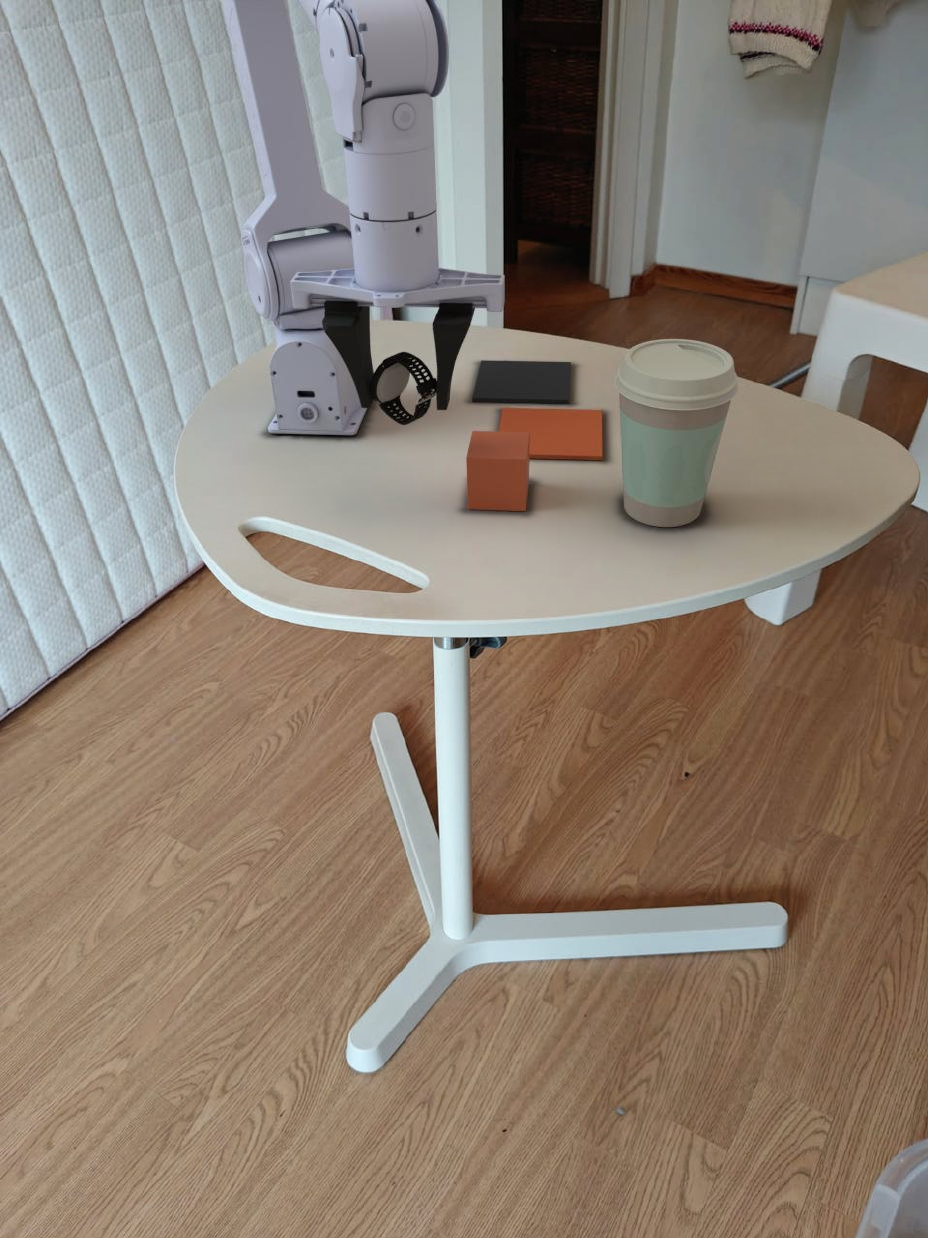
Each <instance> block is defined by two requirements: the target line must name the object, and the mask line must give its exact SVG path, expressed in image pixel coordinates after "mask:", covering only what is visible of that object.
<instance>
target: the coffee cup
mask: <svg viewBox="0 0 928 1238" xmlns="http://www.w3.org/2000/svg"><path fill="white" fill-rule="evenodd" d="M738 382H739V378H738V374H737V373H736V370H735V362H734V358H733V357H732V355H731V353H729V352H727V351H726V350H725V349H723V348H721V347H720V346H717V345H714V344H711V343H708V342H703V341H700V340H694V339H686V338H662V339H661V338H660V339H654V340H653V339H652V340H649V341H643V342H641V343H639V344H636V345H634V346H632V347H630V348H629V349H628V350H627V351H626V352H625V355H624V357H623V360H622V362H621V365H620V366H619V367H618V369H617V372H616V377H615V380H614V386H615V388H616V390H617V391H618V396H619V399H618V401H619V422H620V424H619V425H620V426H619V427H620V445H621V446H620V447H621V448H620V449H621V471H622V472H621V473H622V490H623V491H622V492H623V495H622V496H623V509H624V511H625V512H626V514H627V515H628V516H629V517H630V518H632V519H633V520H635V521H637V522H638V523H642V524H644V525H647V526H651V527H659V528H674V527H681V526H684V525H689V524H690V523H692V522H694V521H695V520H696V519H698V517H700V515H701V511H702V508H703V503H704V501H705V497H706V494H707V490H708V487H709V484H710V479H711V475H712V472H713V468H714V465H715V461H716V458H717V453H718V450H719V446H720V443H721V439H722V435H723V432H724V427H725V424H726V420H727V417H728V413H729V410H730V406H731V402H732V399H733V398H735V396H736V395H737V394H738V392H739V385H738Z"/></svg>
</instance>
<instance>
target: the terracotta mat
mask: <svg viewBox="0 0 928 1238" xmlns="http://www.w3.org/2000/svg"><path fill="white" fill-rule="evenodd" d="M498 432H529V433H530V445H529V459H537V460H538V459H541V460H542V459H543V460H572V461H573V460H576V461H577V460H578V461H579V460H580V461H603V457H604V455H603V453H604V451H603V449H604V447H603V409H578V408H577V409H574V408H571V409H570V408H569V409H568V408H534V407H533V408H531V407H530V408H529V407H528V408H527V407H523V408H522V407H502V410H501V416H500V422H499V428H498Z"/></svg>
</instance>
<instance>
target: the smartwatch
mask: <svg viewBox="0 0 928 1238" xmlns="http://www.w3.org/2000/svg"><path fill="white" fill-rule="evenodd" d="M423 370H424V371H423ZM373 372H374V374H373V377H372V380H371V383H370V390H371V395H372V397H373V399H374V401H376V402H377V403H378V406H379V409H380V410H381V411H382V412H383V413H385V415H386V416H388V417H389V418H390V419H391V420H393V421H394V422H395V423H397V424H399V425H401V426H407V425H410V424H411V423H414V422H415V421H417V420H419V419H421V418H423V417H425V415H427V413H428V411H429V410H430V407H431V403H432V398H434V397H436V389H437V377H434V376H433V373H432V371H431V370H430V368H429V367H428V365H426V364H425V362H424V361H423V360H422V359H421V358H420V357H418V356H416V355H415V354H413V353H410V352H408V351H401V352H398V353H395V354H393V355H391V356H390V355H389V356H388V357H385V358H384V359H382V361H381V362H380V364H378V366H377V368H375V370H374V371H373ZM425 374H426V375H425ZM410 376H412V378H413V379H414V381H415V383H416V386H415V388H416V391H417V396H416V399H415V407H414V411H413V414H412V413H410V412H409V411H408V410H406V408H405V406H404V405H403V403H402V400H401V396H402V394H403V393H404V391H405V389H406V388H407V385H408V383H409V381H410ZM427 378H428V379H427Z"/></svg>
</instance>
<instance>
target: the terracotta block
mask: <svg viewBox="0 0 928 1238" xmlns="http://www.w3.org/2000/svg"><path fill="white" fill-rule="evenodd" d="M529 445H530V433H529V432H499V431H495V430H493V431H491V430H490V431H489V430H472V431H471V435H470V440H469V444H468V448H467V453H466V457H465V458H466V460H465V461H466V465H465V466H466V495H467V496H466V497H467V499H466V501H467V510H472V511H473V510H476V511H477V510H478V511H502V512H503V511H504V512H509V511H510V512H526V511H527V503H528V494H529V486H530V485H529V484H530V458H529Z"/></svg>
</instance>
